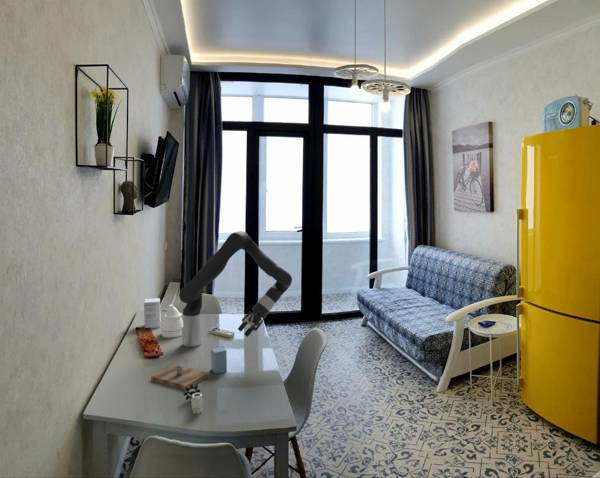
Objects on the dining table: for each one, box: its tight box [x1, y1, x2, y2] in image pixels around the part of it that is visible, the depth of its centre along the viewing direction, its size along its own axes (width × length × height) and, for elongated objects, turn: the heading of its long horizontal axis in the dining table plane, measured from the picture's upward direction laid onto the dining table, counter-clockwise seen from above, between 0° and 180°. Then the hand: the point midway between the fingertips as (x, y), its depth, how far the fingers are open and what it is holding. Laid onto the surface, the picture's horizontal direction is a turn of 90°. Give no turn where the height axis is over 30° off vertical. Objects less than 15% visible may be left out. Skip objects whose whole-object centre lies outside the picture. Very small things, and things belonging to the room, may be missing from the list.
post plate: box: [150, 364, 209, 391], centre depth 174 cm, size 20×14×6 cm
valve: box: [182, 384, 204, 415], centre depth 150 cm, size 7×7×12 cm
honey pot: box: [161, 304, 183, 339], centre depth 232 cm, size 13×13×18 cm
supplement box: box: [143, 297, 162, 329], centre depth 246 cm, size 10×9×17 cm
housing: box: [210, 346, 228, 374], centre depth 182 cm, size 6×6×10 cm
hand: (242, 333), depth 187 cm, fingers open, 8 cm apart
